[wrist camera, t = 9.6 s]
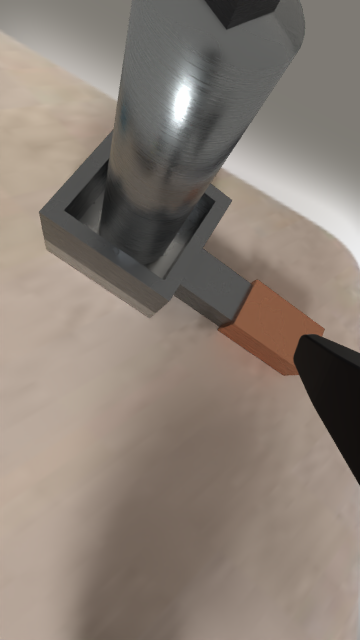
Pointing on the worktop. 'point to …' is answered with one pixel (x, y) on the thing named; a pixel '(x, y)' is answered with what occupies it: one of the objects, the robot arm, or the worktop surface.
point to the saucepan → (172, 268)
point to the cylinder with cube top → (187, 107)
